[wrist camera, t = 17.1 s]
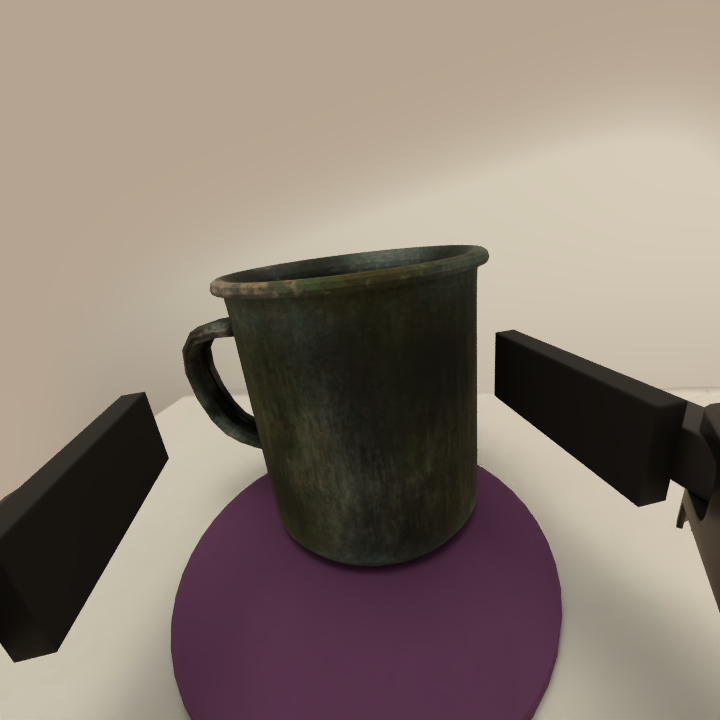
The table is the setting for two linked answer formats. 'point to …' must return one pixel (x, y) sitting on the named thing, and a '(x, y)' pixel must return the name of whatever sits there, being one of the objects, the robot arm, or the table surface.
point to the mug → (356, 394)
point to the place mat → (367, 621)
